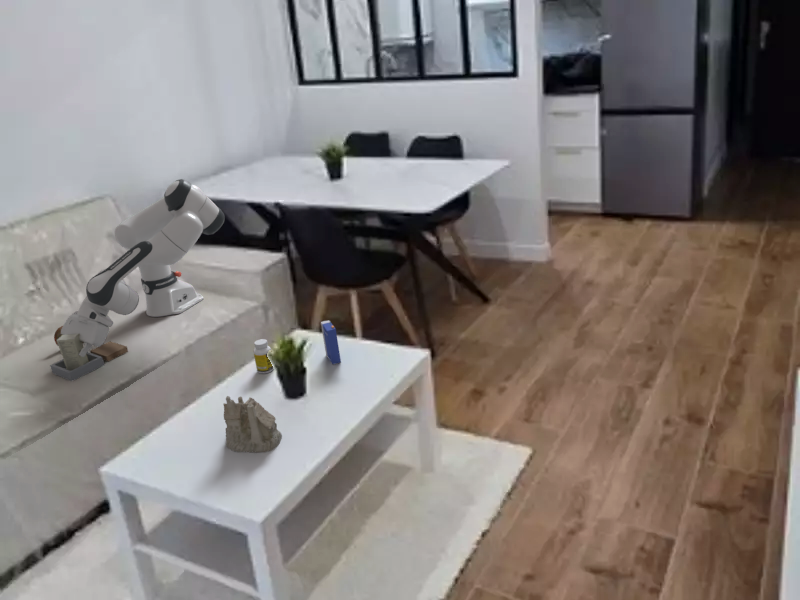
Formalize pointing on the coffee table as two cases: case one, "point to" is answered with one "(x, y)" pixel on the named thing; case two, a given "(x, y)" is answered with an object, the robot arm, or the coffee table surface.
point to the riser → (110, 350)
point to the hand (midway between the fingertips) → (73, 353)
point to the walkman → (330, 342)
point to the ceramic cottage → (250, 427)
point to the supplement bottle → (262, 356)
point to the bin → (71, 375)
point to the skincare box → (71, 351)
